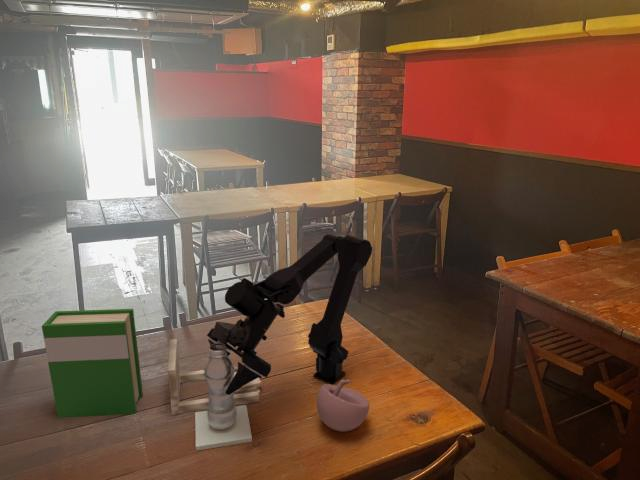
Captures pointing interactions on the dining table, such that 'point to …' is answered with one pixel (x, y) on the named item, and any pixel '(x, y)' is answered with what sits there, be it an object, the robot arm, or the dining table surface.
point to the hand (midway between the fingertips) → (216, 384)
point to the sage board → (222, 431)
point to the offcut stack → (249, 387)
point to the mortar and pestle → (341, 406)
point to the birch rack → (178, 378)
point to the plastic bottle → (220, 388)
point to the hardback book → (93, 362)
